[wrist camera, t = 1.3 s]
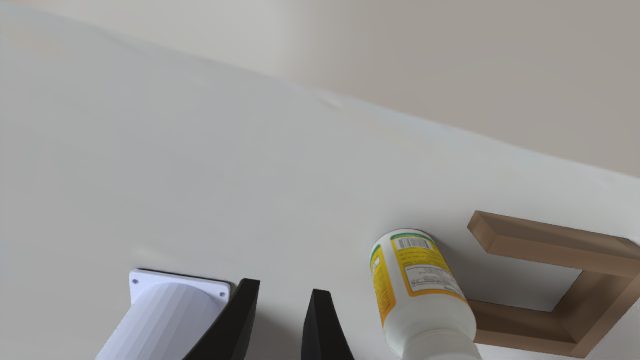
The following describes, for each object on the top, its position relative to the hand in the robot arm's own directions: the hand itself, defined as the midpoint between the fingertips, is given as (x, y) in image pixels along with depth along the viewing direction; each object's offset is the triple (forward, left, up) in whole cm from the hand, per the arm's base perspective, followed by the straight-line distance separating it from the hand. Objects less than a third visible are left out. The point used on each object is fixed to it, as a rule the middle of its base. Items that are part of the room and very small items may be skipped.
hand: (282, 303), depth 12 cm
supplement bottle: (-4, -9, -11) cm, 15 cm away
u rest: (-4, -19, -10) cm, 22 cm away
